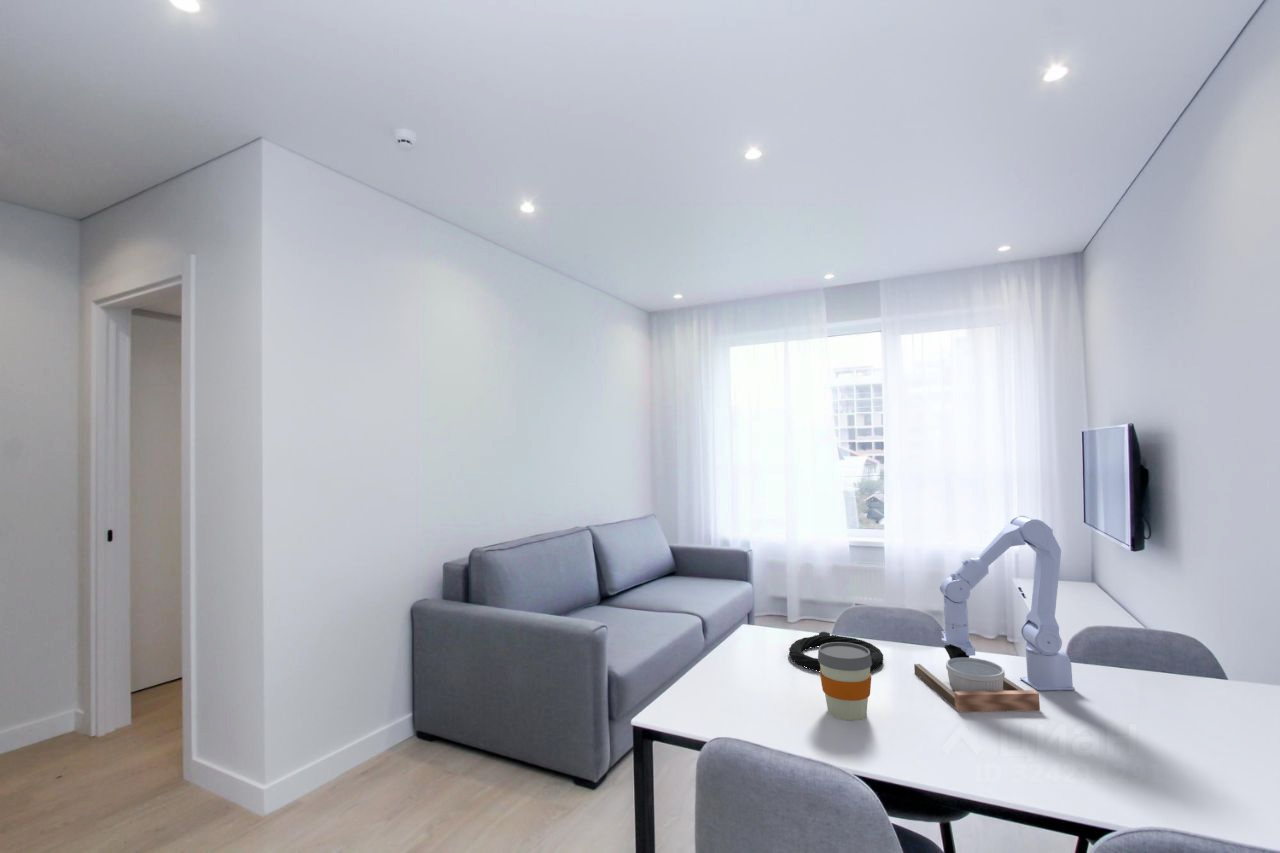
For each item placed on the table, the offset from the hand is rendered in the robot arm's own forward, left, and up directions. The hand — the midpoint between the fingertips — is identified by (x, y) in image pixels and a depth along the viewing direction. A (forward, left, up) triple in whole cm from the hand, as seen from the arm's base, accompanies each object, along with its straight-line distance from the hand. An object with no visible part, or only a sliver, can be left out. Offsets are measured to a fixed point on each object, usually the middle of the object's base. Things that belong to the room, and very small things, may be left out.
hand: (959, 673), depth 160 cm
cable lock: (+28, -20, -2) cm, 35 cm away
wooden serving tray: (0, +6, -2) cm, 6 cm away
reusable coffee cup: (+36, +18, -2) cm, 40 cm away
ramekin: (0, +9, -2) cm, 9 cm away
